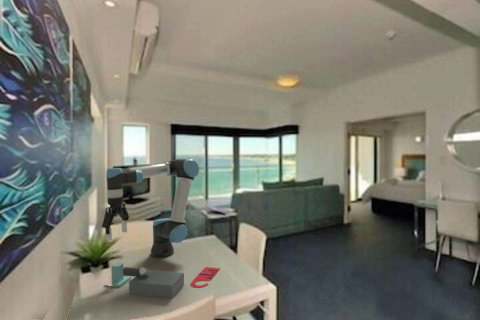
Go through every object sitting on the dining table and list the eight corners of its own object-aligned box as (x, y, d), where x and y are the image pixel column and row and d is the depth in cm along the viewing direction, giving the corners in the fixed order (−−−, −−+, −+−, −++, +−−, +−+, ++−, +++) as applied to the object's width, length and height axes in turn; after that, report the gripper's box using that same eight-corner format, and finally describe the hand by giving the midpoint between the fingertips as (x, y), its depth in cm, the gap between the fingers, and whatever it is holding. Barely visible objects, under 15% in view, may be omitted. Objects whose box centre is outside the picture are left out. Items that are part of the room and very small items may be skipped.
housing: (144, 281, 148) (144, 269, 147) (184, 284, 143) (183, 272, 143) (129, 294, 134) (129, 281, 134) (172, 298, 130) (172, 284, 129)
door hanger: (220, 268, 162) (204, 288, 138) (220, 269, 162) (204, 289, 138) (205, 266, 165) (187, 286, 141) (205, 267, 165) (187, 287, 141)
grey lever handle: (147, 275, 140) (146, 267, 139) (144, 278, 137) (143, 269, 136) (125, 274, 141) (125, 266, 141) (122, 277, 138) (122, 268, 138)
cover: (115, 278, 151) (115, 261, 151) (130, 279, 150) (130, 262, 149) (104, 286, 143) (104, 267, 142) (120, 287, 141) (119, 268, 141)
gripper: (122, 193, 163) (124, 229, 164) (92, 201, 139) (95, 243, 140) (134, 193, 162) (136, 229, 163) (106, 201, 137) (108, 243, 138)
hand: (117, 235), depth 151 cm, fingers open, 13 cm apart
